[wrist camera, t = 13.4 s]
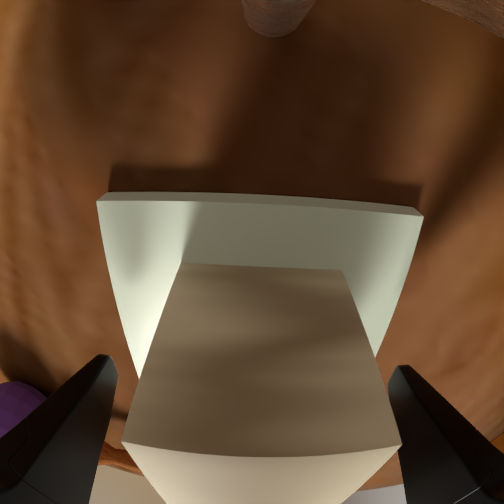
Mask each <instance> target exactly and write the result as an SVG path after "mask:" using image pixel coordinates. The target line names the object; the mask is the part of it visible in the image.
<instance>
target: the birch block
mask: <svg viewBox="0 0 504 504" xmlns="http://www.w3.org/2000/svg"><path fill="white" fill-rule="evenodd" d="M121 442H122V444H123V445H124V447H125V448H126V450H127V451H128V453H129V454H130V456H131V457H132V459H133V460H134V462H135V463H136V464H137V466H138V467H139V469H140V470H141V471H142V473H143V474H144V475H145V477H146V478H147V479H148V480H149V482H150V483H151V485H152V486H153V487H154V488H155V490H156V491H157V492H158V493H159V495H160V496H161V497H162V498H163V500H164V501H165V502H166V503H167V504H341V503H342V502H343V501H345V500H346V499H347V498H348V497H349V496H350V495H352V494H353V493H354V492H355V491H356V490H357V489H358V488H359V487H361V486H362V485H363V484H364V483H365V482H366V481H367V480H368V479H369V478H370V477H371V476H372V475H373V474H374V473H375V472H376V471H378V470H379V469H380V468H381V467H382V466H383V465H384V464H385V463H386V461H387V460H388V459H389V458H390V457H391V456H392V455H393V454H394V453H395V452H396V451H397V450H398V449H399V448H400V447H401V446H402V442H401V438H400V435H399V431H398V428H397V424H396V421H395V418H394V414H393V411H392V408H391V405H390V402H389V398H388V395H387V392H386V389H385V386H384V383H383V380H382V377H381V374H380V371H379V368H378V365H377V362H376V359H375V356H374V353H373V351H372V348H371V345H370V342H369V339H368V337H367V334H366V331H365V328H364V326H363V323H362V320H361V318H360V315H359V313H358V310H357V307H356V305H355V302H354V300H353V297H352V294H351V292H350V289H349V287H348V284H347V282H346V279H345V277H344V275H343V272H342V270H330V269H304V268H280V267H257V266H235V265H214V264H194V263H180V266H179V269H178V271H177V274H176V276H175V279H174V282H173V284H172V287H171V290H170V292H169V295H168V298H167V300H166V303H165V306H164V309H163V311H162V314H161V317H160V320H159V322H158V325H157V328H156V331H155V334H154V337H153V340H152V343H151V345H150V348H149V351H148V354H147V357H146V360H145V363H144V366H143V369H142V372H141V376H140V379H139V382H138V385H137V388H136V391H135V394H134V398H133V401H132V404H131V407H130V411H129V414H128V417H127V421H126V424H125V428H124V431H123V435H122V438H121Z"/></svg>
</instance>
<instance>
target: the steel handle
mask: <svg viewBox="0 0 504 504" xmlns="http://www.w3.org/2000/svg"><path fill="white" fill-rule="evenodd" d="M315 1H316V0H241V3H242V8H243V14H244V18H245V21H246V23H247V24H248V26H249V27H250V28H251V29H252V30H253V31H255V32H256V33H258V34H260V35H263V36H267V37H281V36H285V35H287V34H290V33H291V32H293V31H294V30H295V29H296V28H297V27H298V26H299V24H300V23H301V21H302V20H303V18H304V17H305V15H306V14H307V13H308V11H309V10H310V8H311V7H312V5H313V4H314V3H315ZM420 1H423V2H426V3H429V4H431V5H434V6H436V7H439V8H441V9H444V10H446V11H448V12H451V13H453V14H455V15H457V16H460V17H462V18H464V19H466V20H468V21H470V22H472V23H474V24H476V25H478V26H480V27H482V28H484V29H486V30H488V31H490V32H492V33H494V34H495V35H497V36H499V37H501V38H502V39H504V0H420Z"/></svg>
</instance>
